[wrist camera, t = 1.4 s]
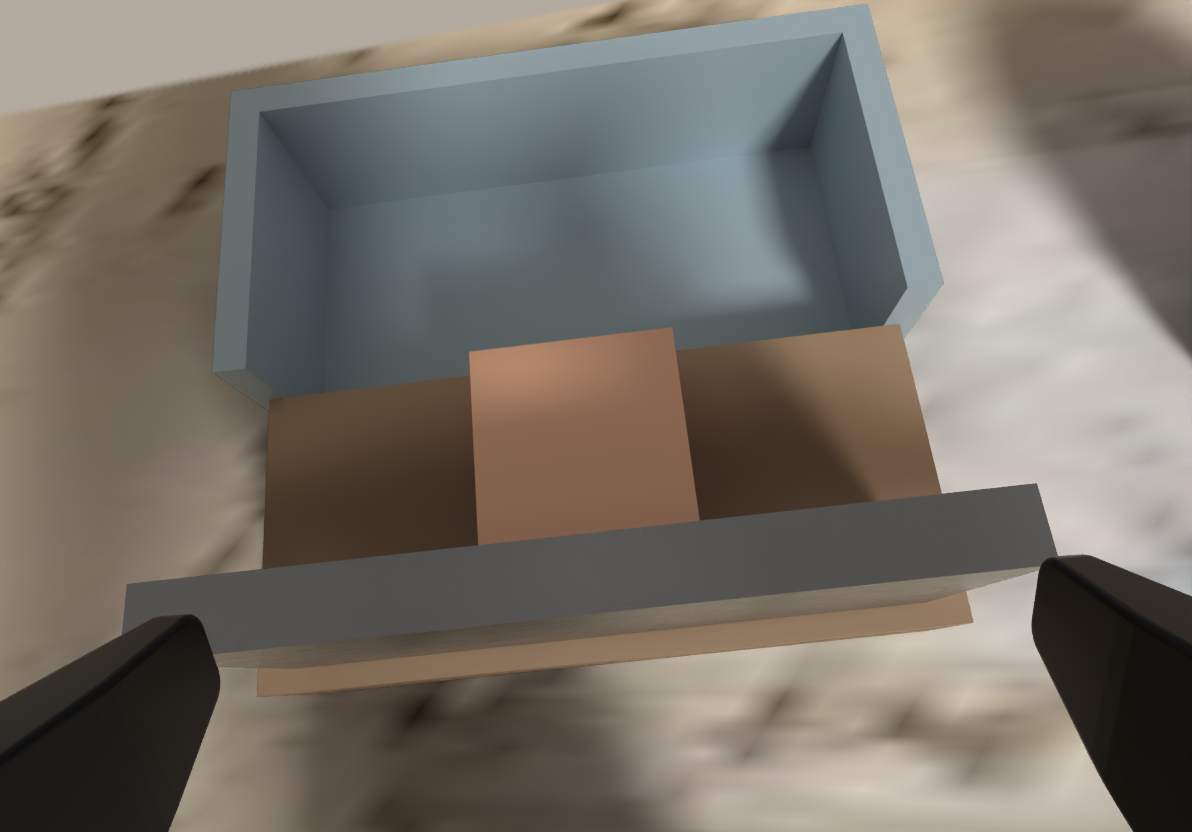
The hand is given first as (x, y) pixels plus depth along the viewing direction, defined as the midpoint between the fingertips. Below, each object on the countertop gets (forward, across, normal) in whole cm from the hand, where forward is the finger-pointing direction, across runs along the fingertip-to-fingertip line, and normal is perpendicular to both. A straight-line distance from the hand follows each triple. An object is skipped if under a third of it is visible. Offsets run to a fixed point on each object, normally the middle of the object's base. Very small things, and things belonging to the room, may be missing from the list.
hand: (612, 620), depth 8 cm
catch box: (+17, +1, 0) cm, 17 cm away
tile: (+10, +1, +3) cm, 10 cm away
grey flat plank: (+8, +1, +5) cm, 9 cm away
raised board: (+12, +1, +6) cm, 13 cm away
